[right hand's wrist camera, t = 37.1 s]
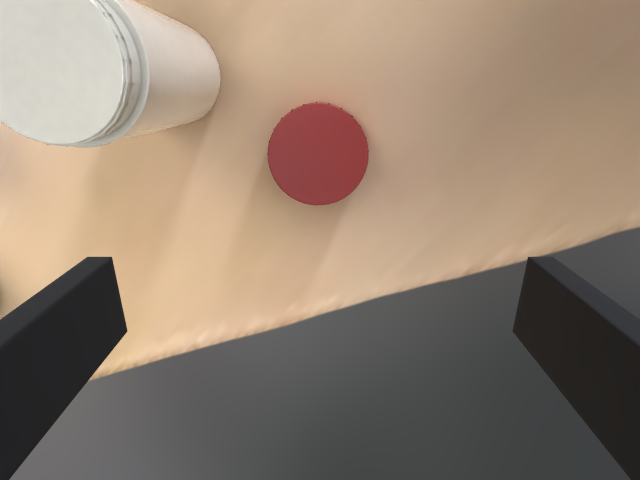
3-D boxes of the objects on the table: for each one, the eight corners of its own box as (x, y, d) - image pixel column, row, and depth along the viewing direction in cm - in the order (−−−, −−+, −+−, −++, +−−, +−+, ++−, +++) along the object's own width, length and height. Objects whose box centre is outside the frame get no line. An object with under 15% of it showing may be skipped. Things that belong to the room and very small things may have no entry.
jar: (175, 143, 40) (59, 186, 22) (105, 67, 38) (-91, 47, 20) (240, 81, 38) (169, 74, 20) (170, -3, 36) (17, -97, 18)
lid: (363, 97, 39) (366, 97, 36) (368, 195, 42) (371, 201, 40) (263, 107, 39) (260, 108, 37) (277, 203, 43) (274, 210, 40)
